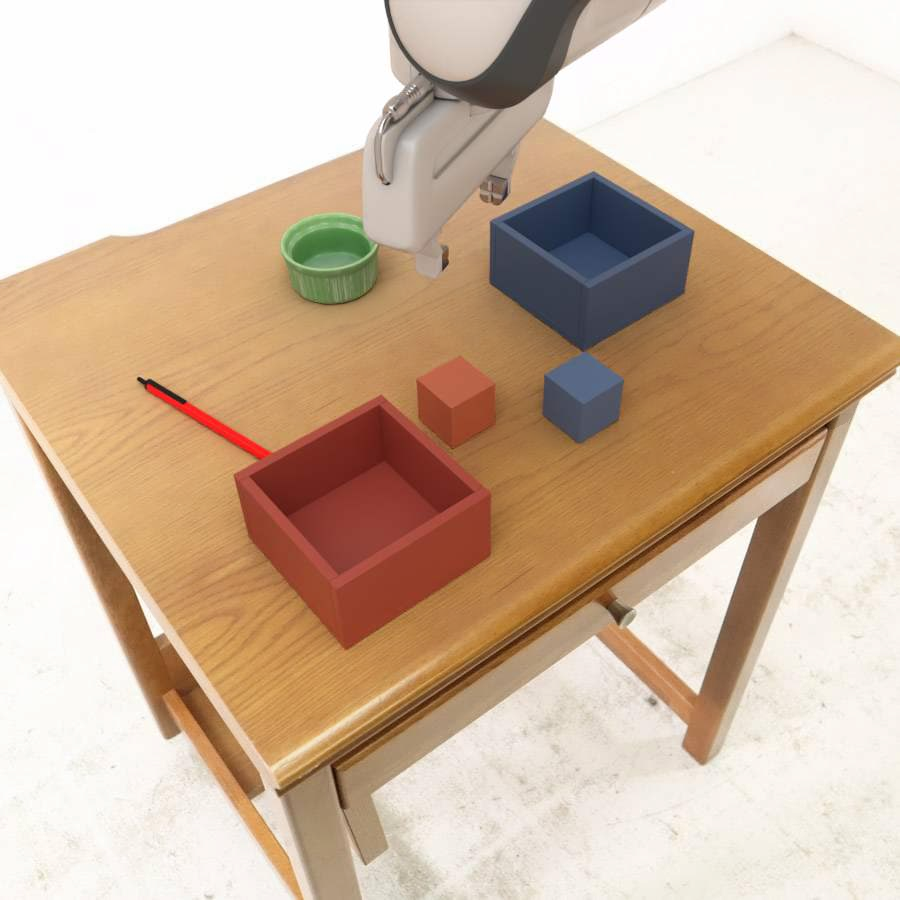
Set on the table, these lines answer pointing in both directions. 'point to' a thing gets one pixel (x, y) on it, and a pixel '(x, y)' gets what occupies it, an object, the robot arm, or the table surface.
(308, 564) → the red bin
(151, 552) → the table surface
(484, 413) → the terracotta block
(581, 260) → the blue bin
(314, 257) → the ramekin
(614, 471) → the table surface
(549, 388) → the blue block
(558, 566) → the table surface
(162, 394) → the pen
